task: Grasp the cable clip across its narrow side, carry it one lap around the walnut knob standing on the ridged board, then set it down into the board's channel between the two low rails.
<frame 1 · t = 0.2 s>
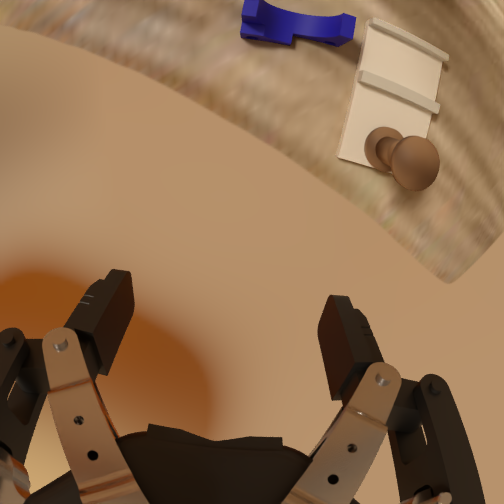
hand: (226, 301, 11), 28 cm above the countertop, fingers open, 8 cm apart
ridged board: (392, 100, 32), on the countertop
walnut knob: (384, 148, 34), resting on ridged board
cable clip: (292, 31, 28), on the countertop
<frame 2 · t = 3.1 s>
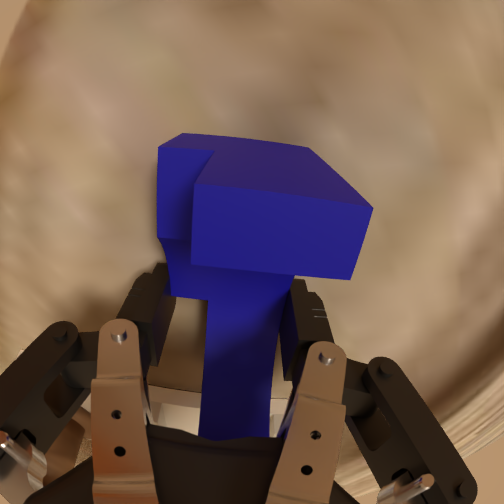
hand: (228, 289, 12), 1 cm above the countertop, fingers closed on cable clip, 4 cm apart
ridged board: (147, 421, 20), on the countertop
walnut knob: (69, 412, 18), resting on ridged board
cable clip: (229, 277, 13), on the countertop, touching gripper
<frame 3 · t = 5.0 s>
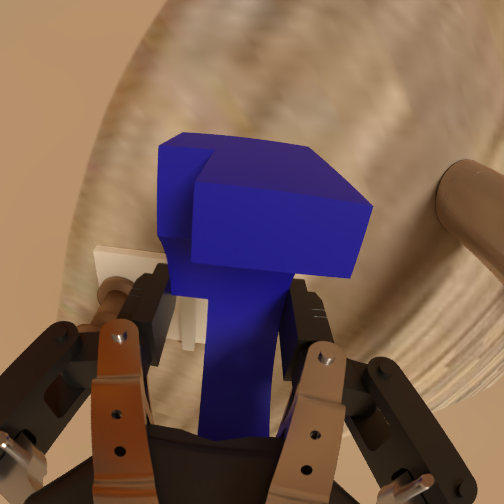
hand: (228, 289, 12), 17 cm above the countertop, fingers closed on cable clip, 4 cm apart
ridged board: (180, 298, 34), on the countertop
walnut knob: (122, 297, 32), resting on ridged board
cable clip: (229, 276, 13), point 16 cm above the countertop, touching gripper
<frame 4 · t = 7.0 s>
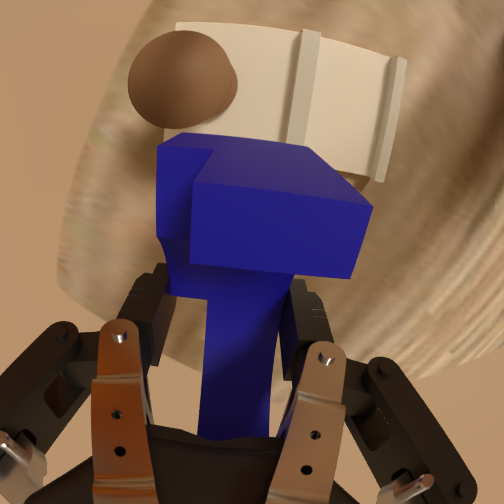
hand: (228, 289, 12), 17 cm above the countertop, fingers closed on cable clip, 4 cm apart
ridged board: (283, 94, 23), on the countertop
walnut knob: (202, 85, 21), resting on ridged board
cable clip: (229, 277, 13), point 16 cm above the countertop, touching gripper
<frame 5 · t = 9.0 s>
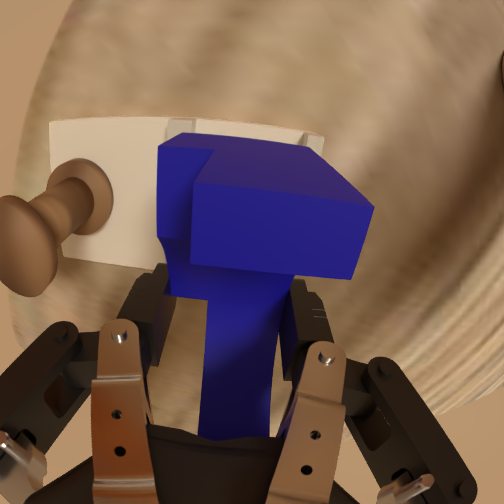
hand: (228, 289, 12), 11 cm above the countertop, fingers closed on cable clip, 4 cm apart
ridged board: (167, 195, 21), on the countertop
walnut knob: (81, 195, 20), resting on ridged board
cable clip: (229, 277, 13), point 10 cm above the countertop, touching gripper
when the fingers open (4 cm above the countertop, at t = 10.6 s): cable clip drops 2 cm, resting on ridged board.
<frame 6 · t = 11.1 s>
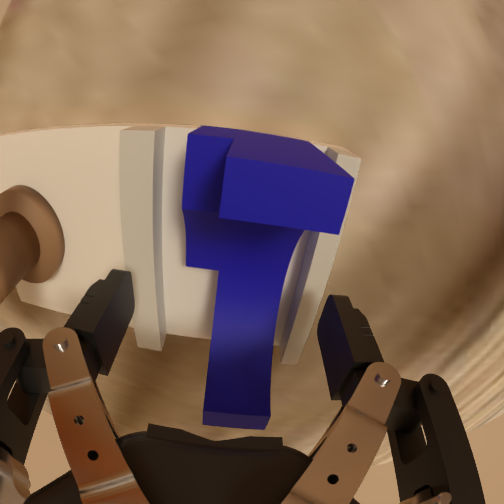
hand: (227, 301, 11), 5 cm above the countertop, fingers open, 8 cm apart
ridged board: (133, 234, 15), on the countertop
walnut knob: (27, 232, 14), resting on ridged board
cable clip: (237, 253, 15), point 1 cm above the countertop, touching ridged board
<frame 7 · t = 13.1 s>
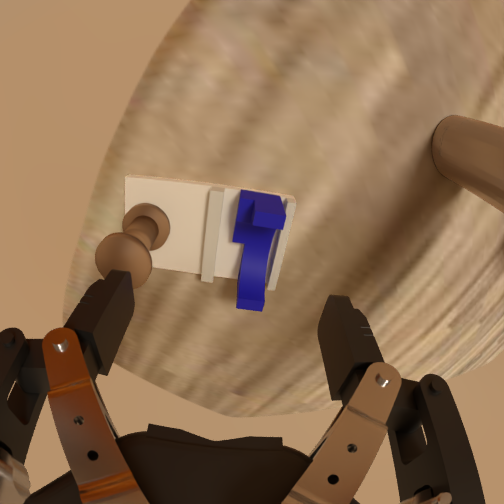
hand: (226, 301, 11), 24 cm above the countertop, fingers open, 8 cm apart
ridged board: (203, 228, 36), on the countertop
walnut knob: (147, 225, 35), resting on ridged board
cable clip: (251, 238, 36), point 1 cm above the countertop, touching ridged board
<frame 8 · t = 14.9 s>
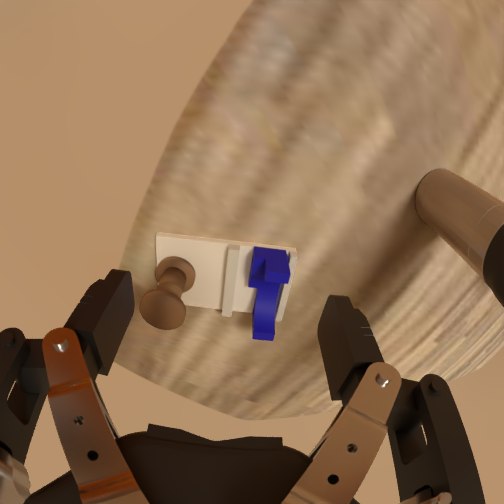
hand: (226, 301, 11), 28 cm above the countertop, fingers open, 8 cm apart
ridged board: (222, 274, 45), on the countertop
walnut knob: (176, 273, 43), resting on ridged board
cable clip: (263, 282, 44), point 1 cm above the countertop, touching ridged board
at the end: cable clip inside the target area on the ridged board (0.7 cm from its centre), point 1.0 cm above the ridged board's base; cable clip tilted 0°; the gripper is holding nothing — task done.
